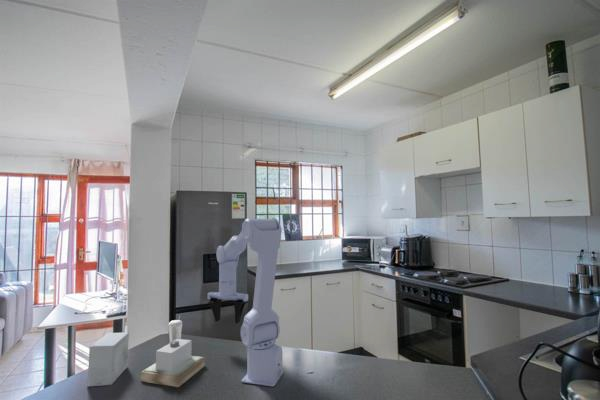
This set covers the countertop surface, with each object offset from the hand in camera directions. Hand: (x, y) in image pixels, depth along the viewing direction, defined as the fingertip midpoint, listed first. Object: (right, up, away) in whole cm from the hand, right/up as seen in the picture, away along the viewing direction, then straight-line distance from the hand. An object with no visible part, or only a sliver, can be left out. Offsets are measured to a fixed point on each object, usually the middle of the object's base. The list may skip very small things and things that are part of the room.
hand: (227, 321), depth 103 cm
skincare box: (-29, -9, -17) cm, 35 cm away
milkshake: (-19, -10, +3) cm, 21 cm away
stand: (-11, -8, -16) cm, 21 cm away
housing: (-12, -6, -16) cm, 20 cm away
